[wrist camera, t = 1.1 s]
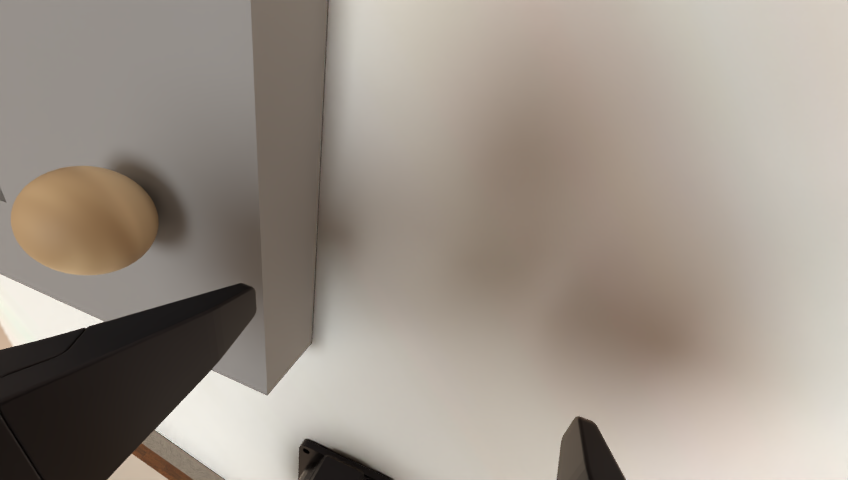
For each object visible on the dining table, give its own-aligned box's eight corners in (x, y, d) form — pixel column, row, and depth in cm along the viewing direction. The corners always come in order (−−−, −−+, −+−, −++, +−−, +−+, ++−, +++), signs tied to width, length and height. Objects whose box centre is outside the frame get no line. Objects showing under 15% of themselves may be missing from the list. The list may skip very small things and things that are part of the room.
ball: (189, 257, 14) (89, 312, 11) (117, 228, 15) (4, 273, 12) (175, 170, 12) (52, 208, 9) (93, 142, 13) (-46, 169, 10)
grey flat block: (311, 343, 19) (267, 395, 17) (7, 217, 23) (-72, 241, 20) (329, -22, 11) (248, -47, 8) (-139, -119, 15) (-304, -159, 12)
